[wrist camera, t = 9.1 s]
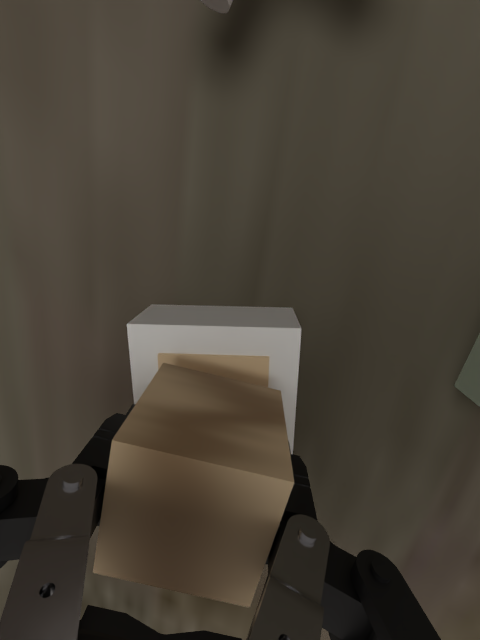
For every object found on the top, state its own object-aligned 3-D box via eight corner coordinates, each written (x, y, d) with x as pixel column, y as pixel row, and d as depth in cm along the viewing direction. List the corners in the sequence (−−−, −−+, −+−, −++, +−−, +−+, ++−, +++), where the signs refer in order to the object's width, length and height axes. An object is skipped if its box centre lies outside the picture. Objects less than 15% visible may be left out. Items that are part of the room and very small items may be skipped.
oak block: (280, 390, 14) (294, 482, 9) (251, 484, 15) (249, 607, 10) (163, 362, 13) (111, 440, 9) (145, 460, 15) (92, 572, 10)
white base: (291, 306, 19) (301, 329, 14) (284, 427, 21) (291, 476, 17) (152, 303, 19) (125, 325, 15) (160, 423, 21) (138, 470, 17)
